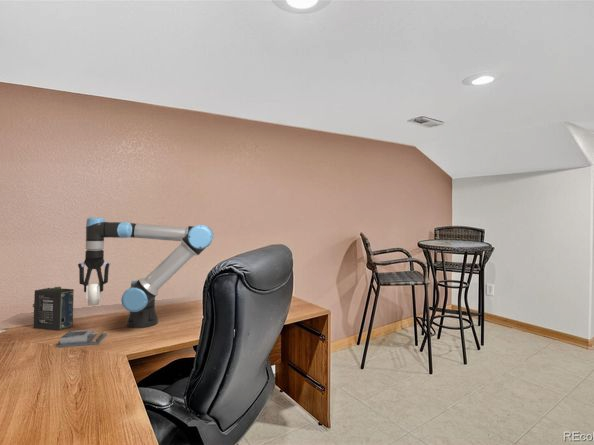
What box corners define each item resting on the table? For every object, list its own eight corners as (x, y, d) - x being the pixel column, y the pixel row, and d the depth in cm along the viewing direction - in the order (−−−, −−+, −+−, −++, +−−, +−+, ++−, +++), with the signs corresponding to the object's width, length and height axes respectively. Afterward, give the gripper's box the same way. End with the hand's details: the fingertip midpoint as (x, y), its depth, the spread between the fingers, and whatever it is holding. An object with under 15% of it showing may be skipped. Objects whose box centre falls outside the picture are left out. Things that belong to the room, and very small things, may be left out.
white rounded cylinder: (99, 303, 164) (100, 282, 164) (97, 305, 160) (97, 284, 160) (89, 303, 163) (90, 282, 163) (86, 305, 158) (87, 284, 159)
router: (61, 330, 165) (62, 289, 165) (30, 328, 168) (32, 288, 169) (75, 326, 172) (76, 287, 173) (45, 323, 176) (46, 285, 176)
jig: (106, 335, 159) (106, 327, 159) (98, 344, 146) (99, 336, 146) (67, 337, 154) (67, 330, 154) (56, 347, 142) (56, 339, 142)
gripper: (116, 249, 168) (115, 296, 167) (77, 249, 163) (75, 297, 163) (112, 250, 160) (111, 299, 160) (71, 250, 156) (70, 301, 155)
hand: (93, 298), depth 161 cm, fingers closed on white rounded cylinder, 4 cm apart
